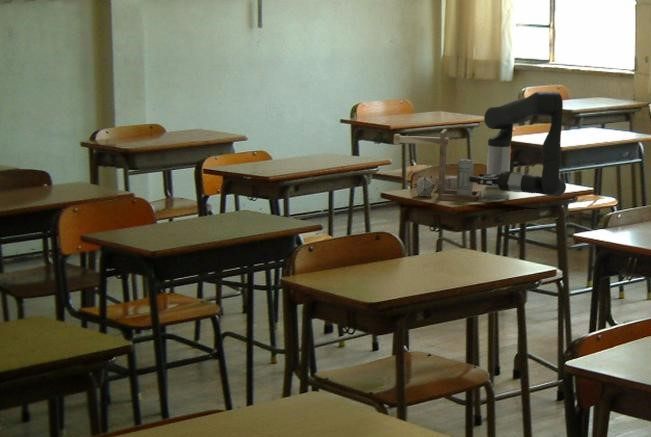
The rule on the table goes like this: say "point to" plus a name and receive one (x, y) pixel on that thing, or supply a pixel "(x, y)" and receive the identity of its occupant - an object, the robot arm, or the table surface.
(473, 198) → the wooden gallows stand
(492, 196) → the mat
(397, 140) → the key bar
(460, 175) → the energy drink can
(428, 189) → the game die
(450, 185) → the mineral specimen
